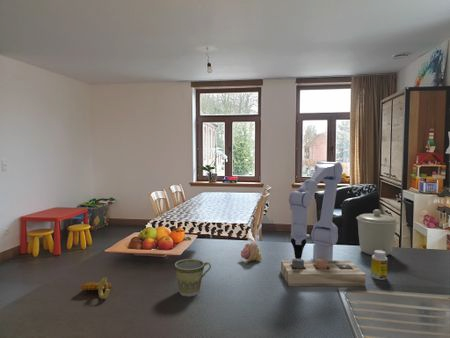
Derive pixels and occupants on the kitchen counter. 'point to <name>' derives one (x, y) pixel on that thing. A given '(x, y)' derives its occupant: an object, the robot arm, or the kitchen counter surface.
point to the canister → (376, 232)
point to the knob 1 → (297, 264)
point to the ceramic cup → (190, 276)
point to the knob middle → (321, 264)
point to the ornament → (98, 287)
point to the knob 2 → (344, 266)
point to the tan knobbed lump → (251, 252)
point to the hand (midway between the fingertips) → (298, 258)
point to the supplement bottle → (379, 265)
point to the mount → (323, 274)
